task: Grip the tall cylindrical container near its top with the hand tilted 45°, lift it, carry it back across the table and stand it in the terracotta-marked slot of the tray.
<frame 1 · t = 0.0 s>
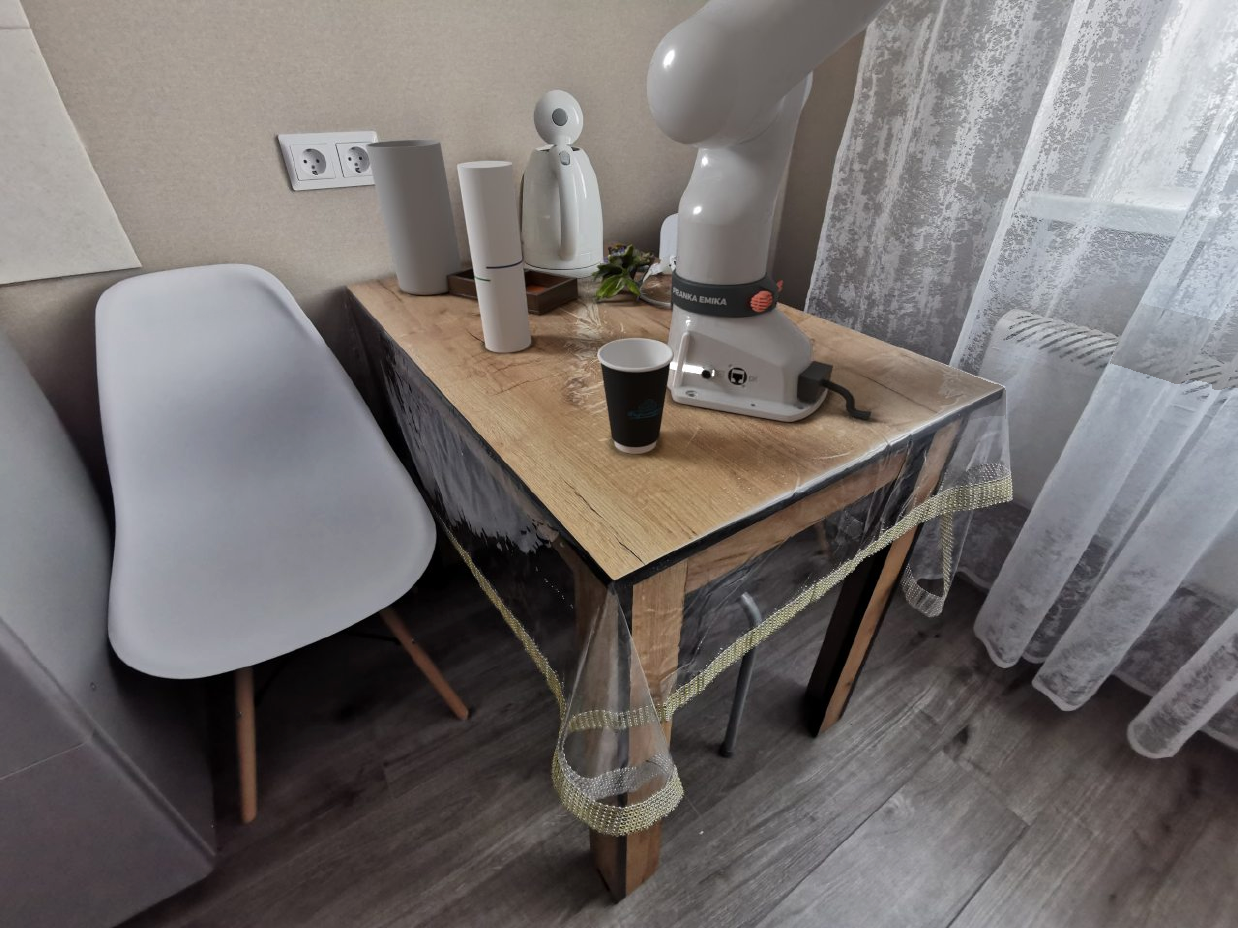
tray: (513, 295, 107), on the table
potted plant: (625, 298, 105), on the table
cylinder vase: (432, 287, 112), on the table
dixie cup: (635, 443, 64), on the table
cylindrical container: (508, 344, 88), on the table
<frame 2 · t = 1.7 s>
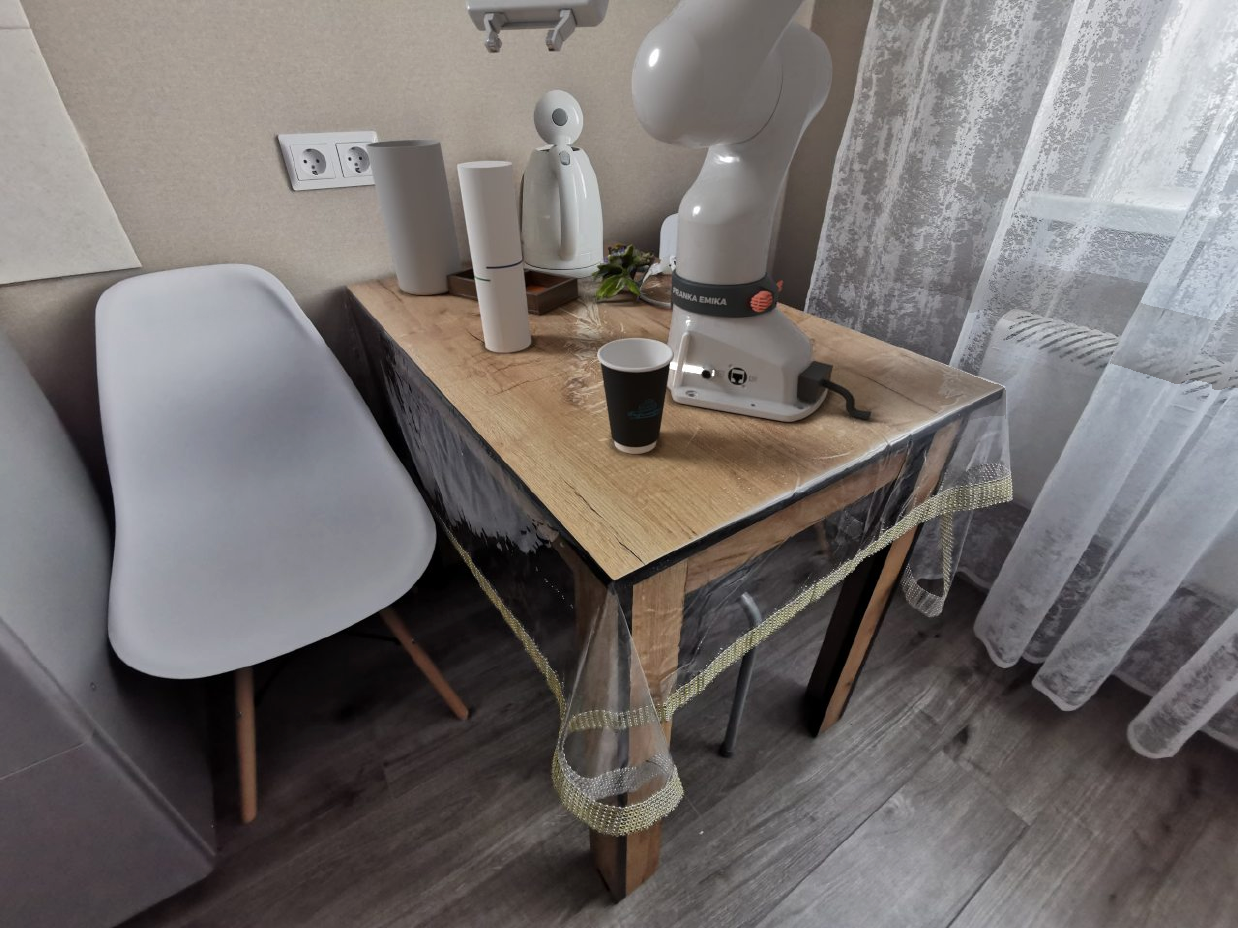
hand: (521, 48, 75), 38 cm above the table, tool tilted 45°, fingers open, 8 cm apart
nothing on the table moved.
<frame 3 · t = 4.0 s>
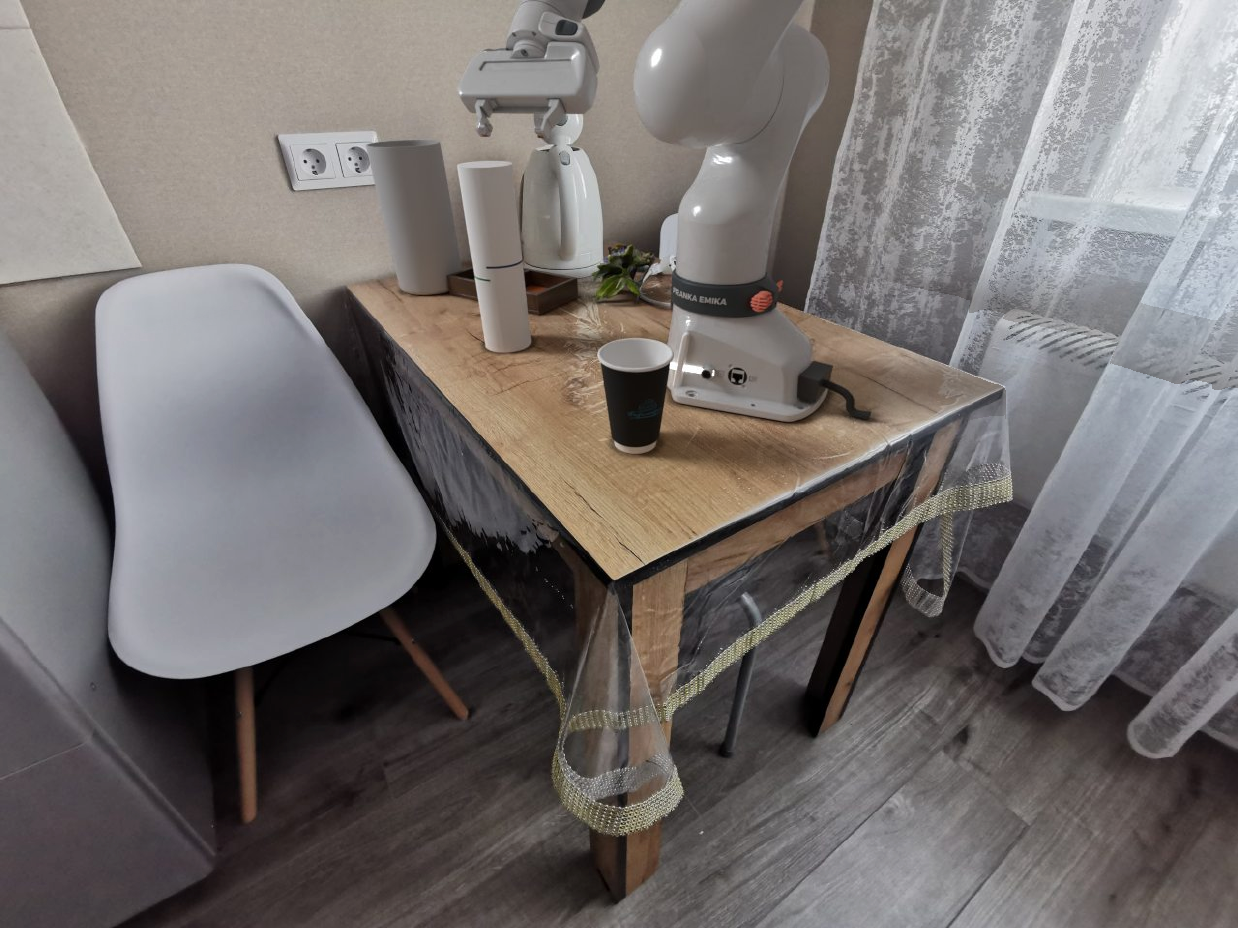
hand: (511, 134, 77), 28 cm above the table, tool tilted 45°, fingers open, 8 cm apart
nothing on the table moved.
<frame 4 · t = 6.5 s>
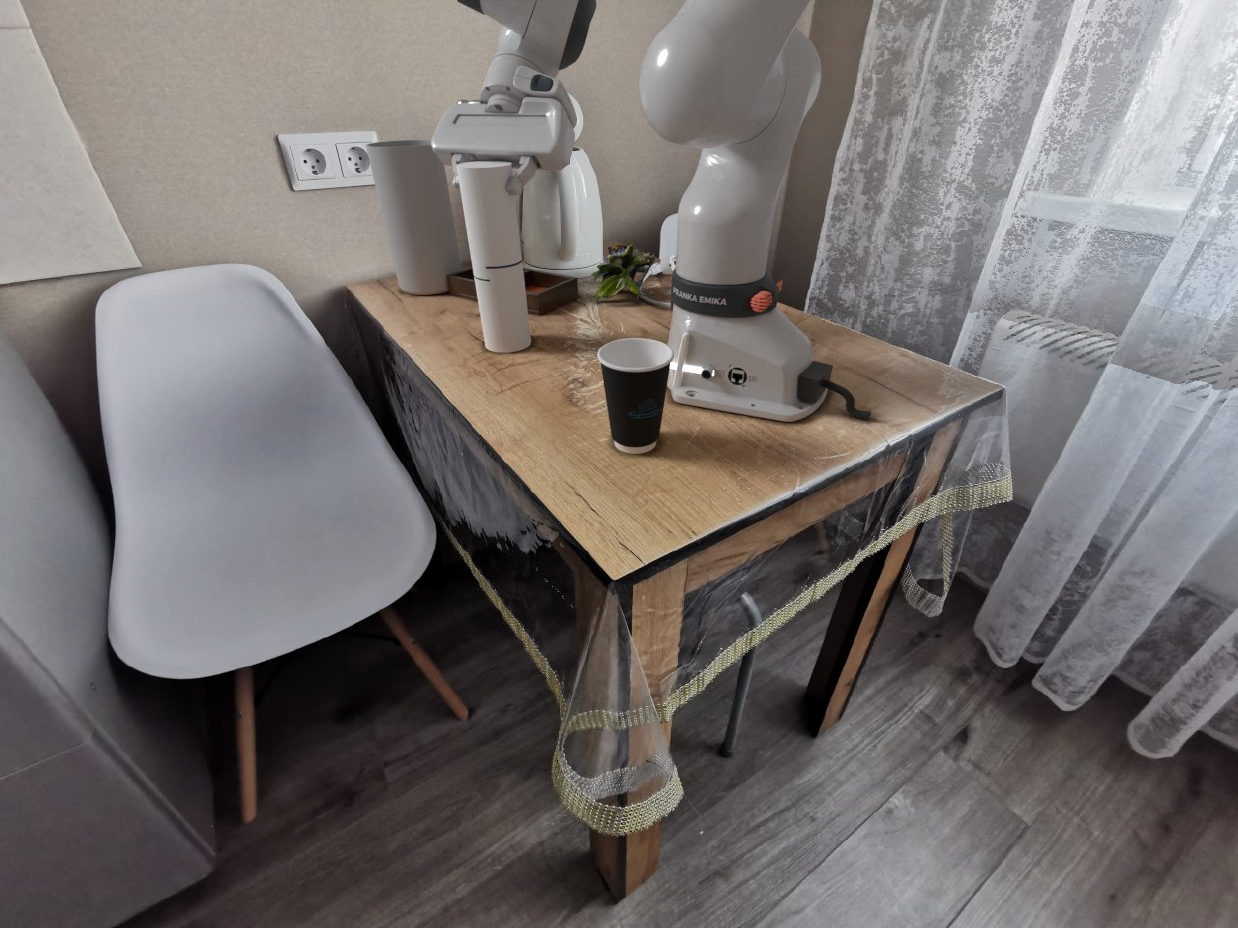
hand: (485, 191, 75), 22 cm above the table, tool tilted 45°, fingers closed on cylindrical container, 7 cm apart
cylindrical container: (508, 344, 88), on the table, touching gripper
everything else where it was.
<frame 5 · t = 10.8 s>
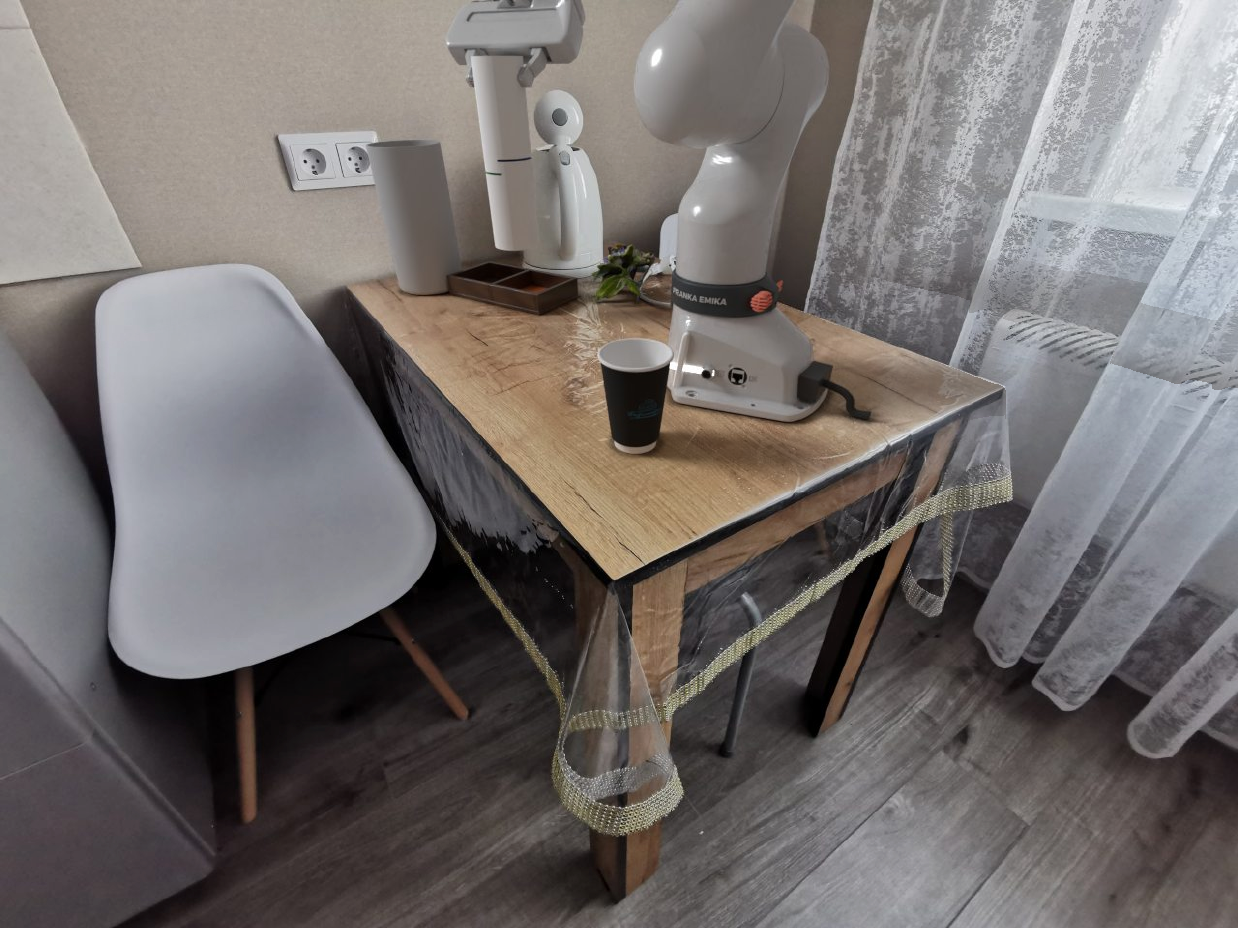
hand: (497, 84, 78), 34 cm above the table, tool tilted 45°, fingers closed on cylindrical container, 7 cm apart
cylindrical container: (517, 246, 92), point 12 cm above the table, touching gripper
everything else where it was.
when the fingers open (23 cm above the table, at t = 15.3 s): cylindrical container stays where it is, resting on tray.
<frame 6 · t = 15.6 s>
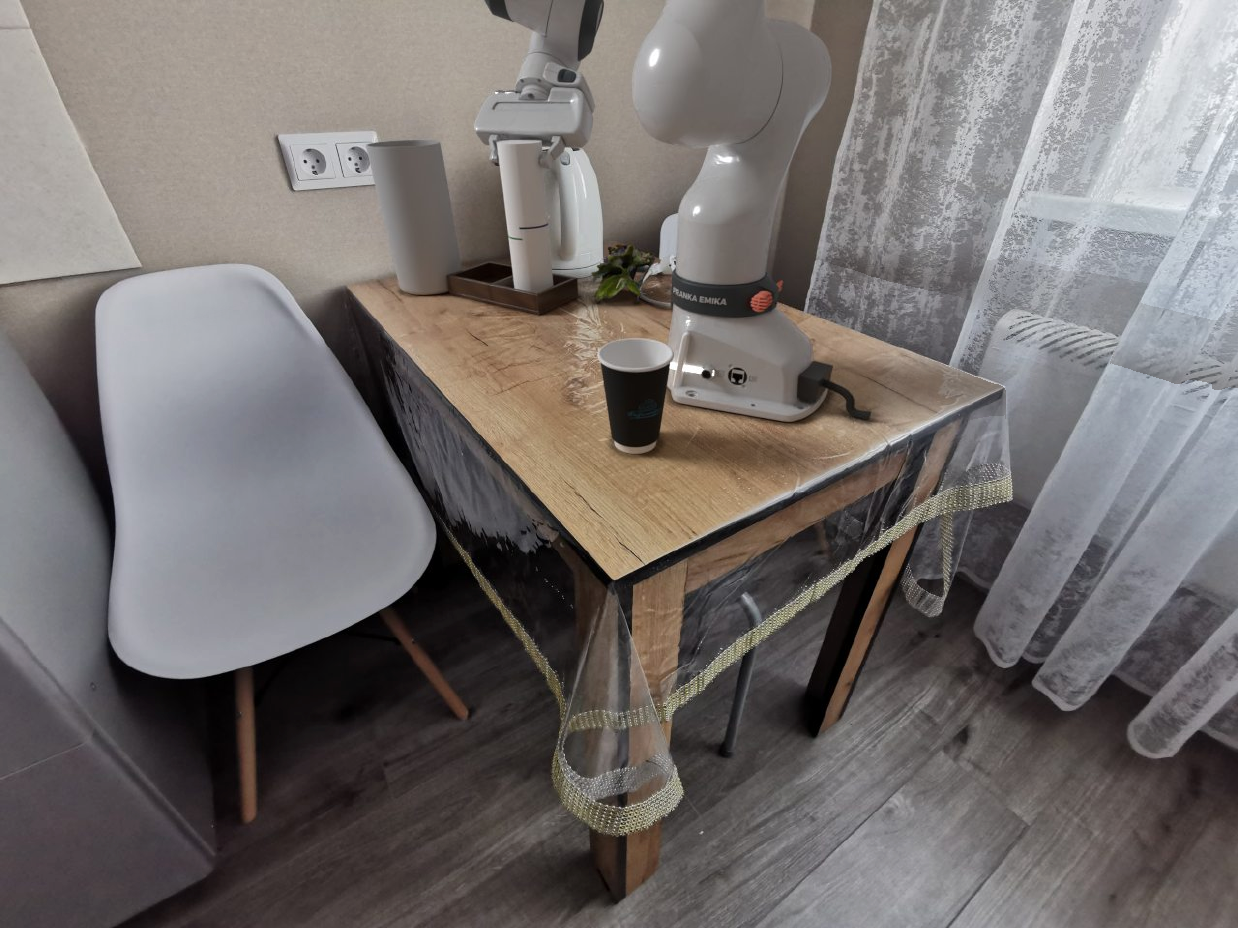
hand: (519, 165, 91), 23 cm above the table, tool tilted 45°, fingers open, 8 cm apart
cylindrical container: (535, 297, 104), point 1 cm above the table, touching tray
everything else where it was.
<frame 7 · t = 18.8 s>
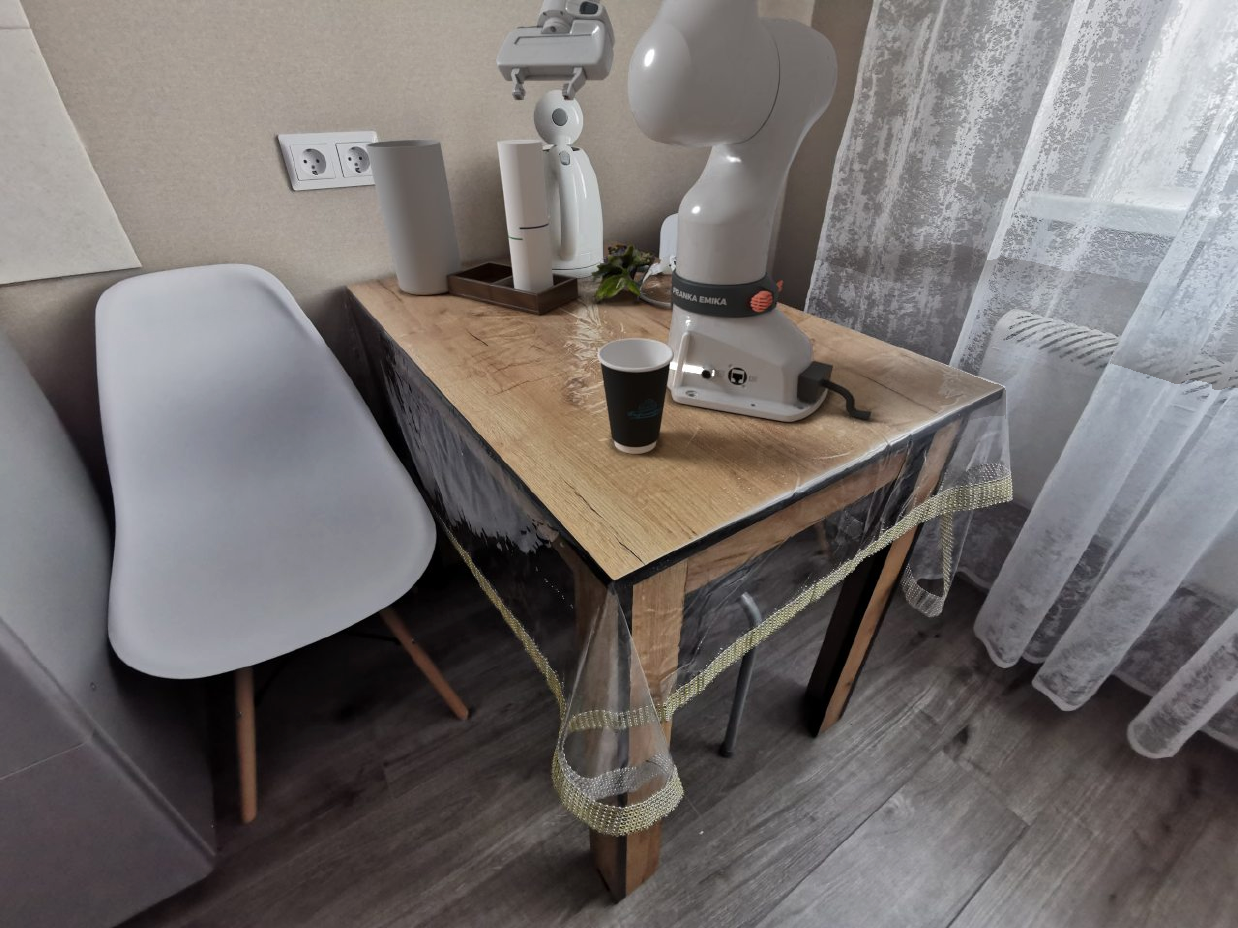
hand: (541, 97, 93), 31 cm above the table, tool tilted 45°, fingers open, 8 cm apart
nothing on the table moved.
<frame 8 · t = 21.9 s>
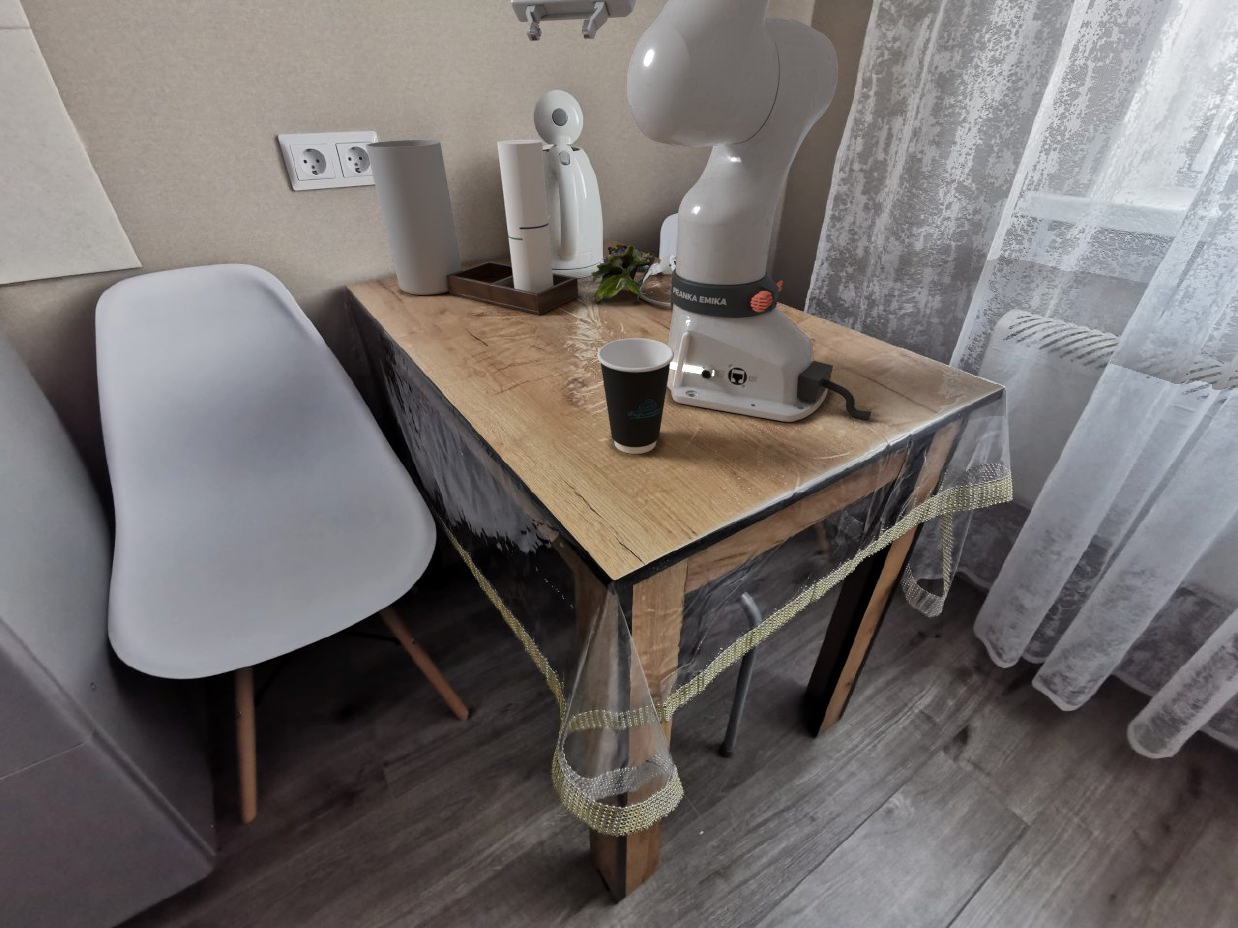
hand: (559, 36, 85), 39 cm above the table, tool tilted 45°, fingers open, 8 cm apart
nothing on the table moved.
at the end: cylindrical container 0.0 cm from the target spot in the tray, point 0.6 cm above the tray's base; cylindrical container tilted 0°; the gripper is holding nothing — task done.
